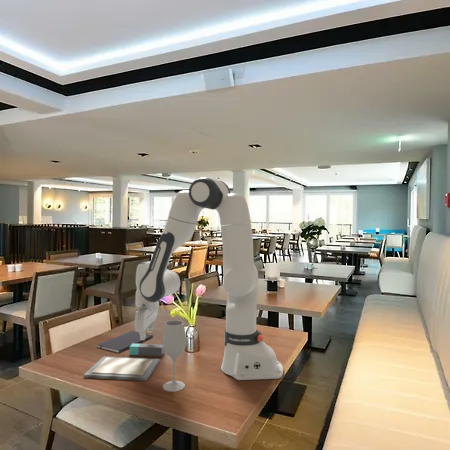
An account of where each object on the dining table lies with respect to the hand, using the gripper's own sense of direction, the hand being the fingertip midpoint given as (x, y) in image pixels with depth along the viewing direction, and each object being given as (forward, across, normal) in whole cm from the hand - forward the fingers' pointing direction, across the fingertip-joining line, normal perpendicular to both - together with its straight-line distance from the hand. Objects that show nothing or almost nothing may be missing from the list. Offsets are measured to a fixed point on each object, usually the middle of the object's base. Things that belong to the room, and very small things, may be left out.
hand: (146, 335), depth 147 cm
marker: (+7, 0, 0) cm, 7 cm away
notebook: (+8, +12, +13) cm, 19 cm away
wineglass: (+7, -26, -17) cm, 32 cm away
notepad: (+7, -15, +4) cm, 17 cm away
